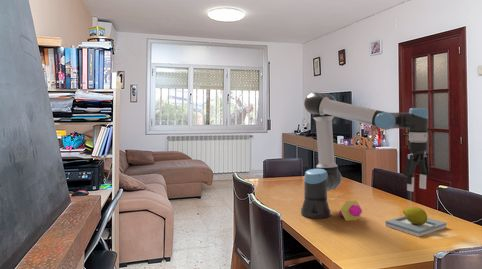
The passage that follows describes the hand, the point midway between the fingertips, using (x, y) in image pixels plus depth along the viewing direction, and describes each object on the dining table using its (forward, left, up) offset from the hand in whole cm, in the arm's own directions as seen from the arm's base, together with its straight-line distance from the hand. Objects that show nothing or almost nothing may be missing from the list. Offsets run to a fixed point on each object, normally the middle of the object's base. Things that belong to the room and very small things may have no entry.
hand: (416, 189), depth 148 cm
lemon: (0, 0, -16) cm, 16 cm away
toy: (-17, +23, -18) cm, 34 cm away
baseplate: (0, 0, -17) cm, 17 cm away
